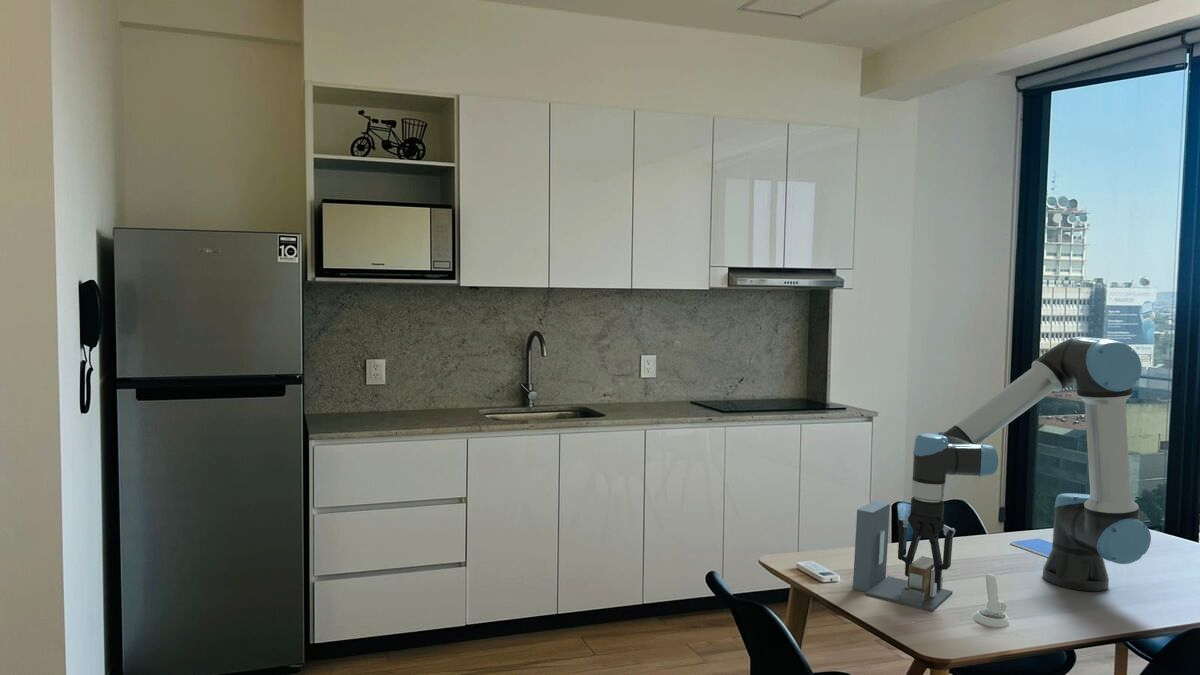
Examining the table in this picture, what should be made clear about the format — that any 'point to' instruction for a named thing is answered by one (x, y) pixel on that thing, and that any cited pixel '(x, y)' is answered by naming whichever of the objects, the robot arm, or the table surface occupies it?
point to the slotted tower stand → (884, 562)
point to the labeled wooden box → (921, 575)
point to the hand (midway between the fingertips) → (922, 592)
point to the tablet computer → (1035, 546)
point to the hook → (992, 606)
